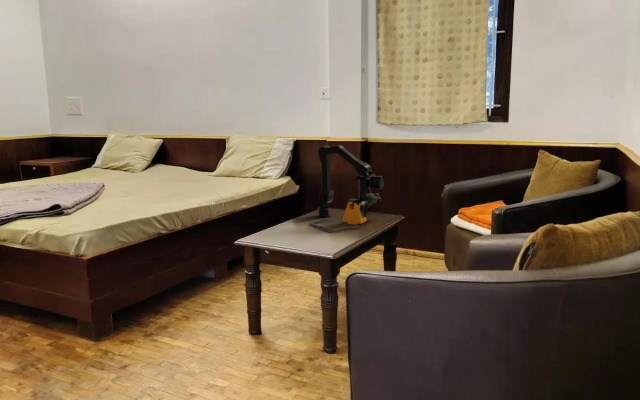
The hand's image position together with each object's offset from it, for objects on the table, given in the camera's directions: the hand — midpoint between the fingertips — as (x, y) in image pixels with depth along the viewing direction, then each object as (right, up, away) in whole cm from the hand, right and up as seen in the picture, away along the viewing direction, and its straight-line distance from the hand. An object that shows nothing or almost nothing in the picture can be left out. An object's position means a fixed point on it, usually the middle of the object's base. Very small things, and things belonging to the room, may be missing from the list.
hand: (364, 216), depth 275 cm
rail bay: (-16, -5, -9) cm, 19 cm away
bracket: (-5, -3, -3) cm, 7 cm away
